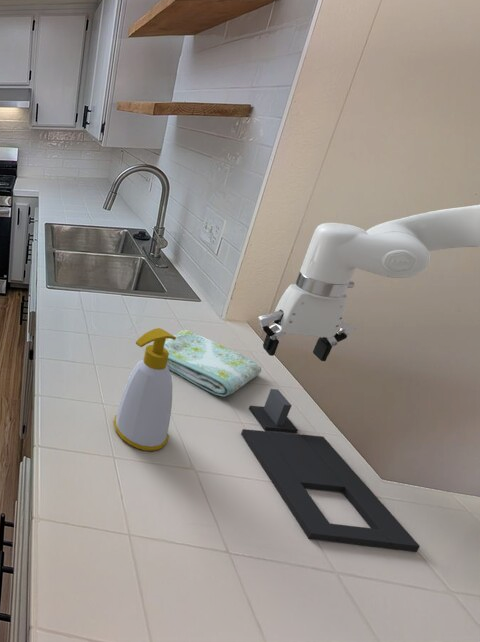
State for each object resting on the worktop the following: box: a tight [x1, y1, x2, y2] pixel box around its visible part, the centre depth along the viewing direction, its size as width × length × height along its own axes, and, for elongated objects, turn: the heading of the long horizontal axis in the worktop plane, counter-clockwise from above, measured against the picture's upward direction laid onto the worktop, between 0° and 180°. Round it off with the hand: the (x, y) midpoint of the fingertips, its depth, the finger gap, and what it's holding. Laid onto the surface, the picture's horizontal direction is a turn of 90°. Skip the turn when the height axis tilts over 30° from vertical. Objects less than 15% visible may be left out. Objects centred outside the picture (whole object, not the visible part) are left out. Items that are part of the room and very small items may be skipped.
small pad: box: [248, 388, 299, 434], centre depth 87 cm, size 7×7×7 cm
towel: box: [164, 329, 262, 397], centre depth 105 cm, size 18×21×5 cm
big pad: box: [240, 428, 421, 553], centre depth 73 cm, size 16×22×2 cm
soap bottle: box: [113, 327, 176, 452], centre depth 81 cm, size 11×12×26 cm
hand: (293, 354), depth 83 cm, fingers open, 9 cm apart
